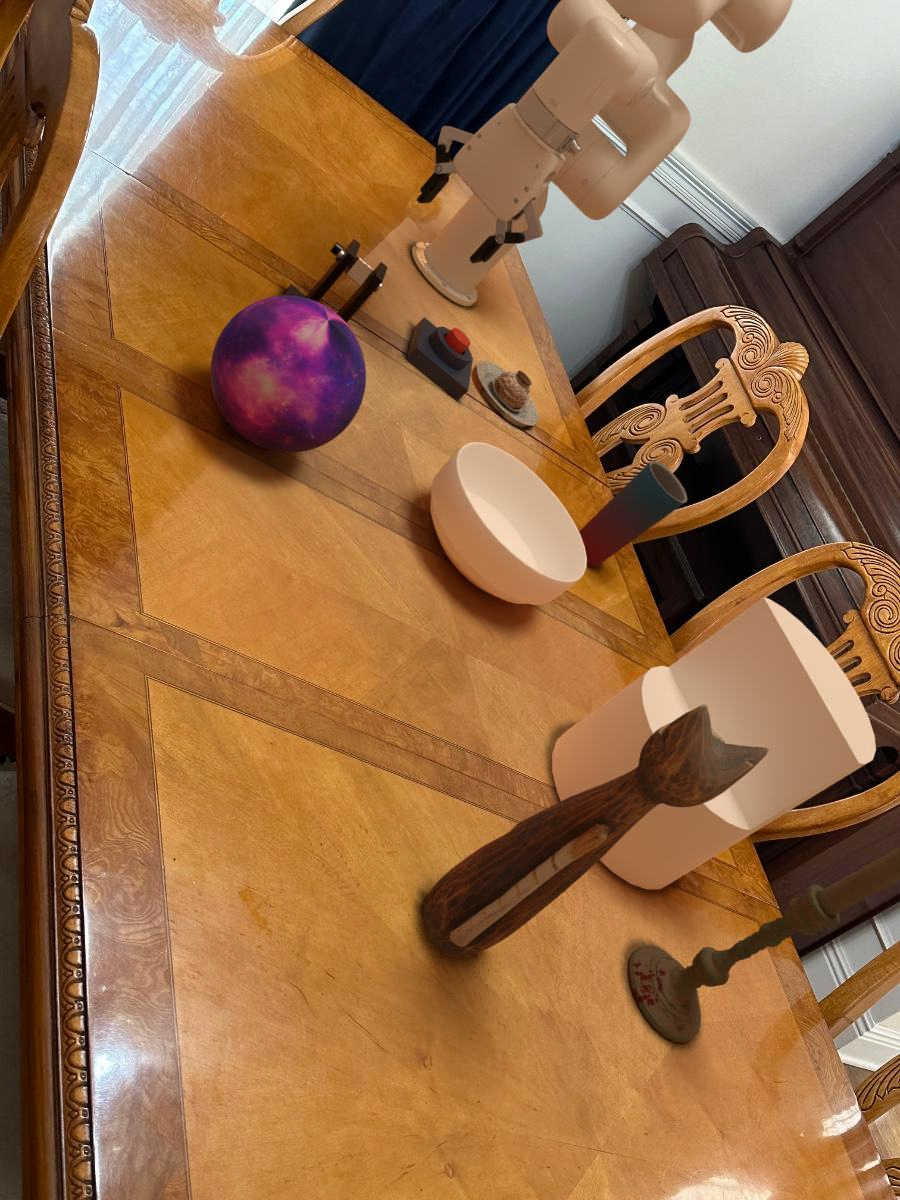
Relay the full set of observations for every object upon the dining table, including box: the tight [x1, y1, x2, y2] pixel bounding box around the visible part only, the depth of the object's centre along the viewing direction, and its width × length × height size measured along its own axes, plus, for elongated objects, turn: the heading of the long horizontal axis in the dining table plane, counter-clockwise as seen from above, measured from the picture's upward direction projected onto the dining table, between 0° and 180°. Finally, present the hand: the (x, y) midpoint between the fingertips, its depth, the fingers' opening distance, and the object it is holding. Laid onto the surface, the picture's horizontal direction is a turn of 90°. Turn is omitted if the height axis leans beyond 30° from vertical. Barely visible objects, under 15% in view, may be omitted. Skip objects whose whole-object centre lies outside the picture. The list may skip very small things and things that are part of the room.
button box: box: [406, 316, 474, 401], centre depth 158 cm, size 10×9×4 cm
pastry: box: [476, 360, 540, 428], centre depth 166 cm, size 12×12×5 cm
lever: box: [329, 241, 374, 287], centre depth 138 cm, size 12×6×2 cm, turn 174°
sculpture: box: [423, 705, 769, 958], centre depth 86 cm, size 7×9×30 cm
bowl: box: [430, 441, 588, 606], centre depth 131 cm, size 20×20×8 cm
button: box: [444, 327, 471, 354], centre depth 156 cm, size 3×3×2 cm
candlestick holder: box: [628, 846, 900, 1044], centre depth 100 cm, size 9×9×30 cm
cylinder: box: [551, 596, 877, 890], centre depth 115 cm, size 19×19×25 cm
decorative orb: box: [210, 295, 367, 454], centre depth 114 cm, size 15×15×15 cm
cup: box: [578, 460, 688, 568], centre depth 151 cm, size 7×7×15 cm
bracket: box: [282, 238, 389, 324], centre depth 136 cm, size 10×9×12 cm
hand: (448, 231), depth 142 cm, fingers open, 9 cm apart
